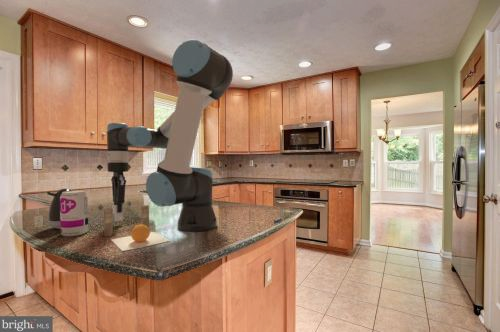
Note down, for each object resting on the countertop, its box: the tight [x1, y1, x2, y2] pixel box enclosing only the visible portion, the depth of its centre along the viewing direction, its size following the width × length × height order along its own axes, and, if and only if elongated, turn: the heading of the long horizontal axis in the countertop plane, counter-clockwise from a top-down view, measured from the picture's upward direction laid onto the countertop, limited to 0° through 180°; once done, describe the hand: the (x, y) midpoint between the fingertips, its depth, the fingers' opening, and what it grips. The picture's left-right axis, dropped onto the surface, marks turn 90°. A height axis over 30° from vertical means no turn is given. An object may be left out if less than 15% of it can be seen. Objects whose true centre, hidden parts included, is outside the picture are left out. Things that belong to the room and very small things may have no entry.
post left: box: [103, 208, 114, 237], centre depth 88 cm, size 3×3×9 cm
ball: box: [130, 223, 151, 242], centre depth 81 cm, size 6×6×6 cm
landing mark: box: [110, 231, 170, 252], centre depth 82 cm, size 14×14×1 cm
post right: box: [141, 204, 150, 229], centre depth 96 cm, size 3×3×9 cm
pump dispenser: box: [46, 188, 72, 230], centre depth 98 cm, size 10×10×15 cm
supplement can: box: [59, 190, 89, 237], centre depth 90 cm, size 8×8×15 cm
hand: (118, 220), depth 102 cm, fingers closed
